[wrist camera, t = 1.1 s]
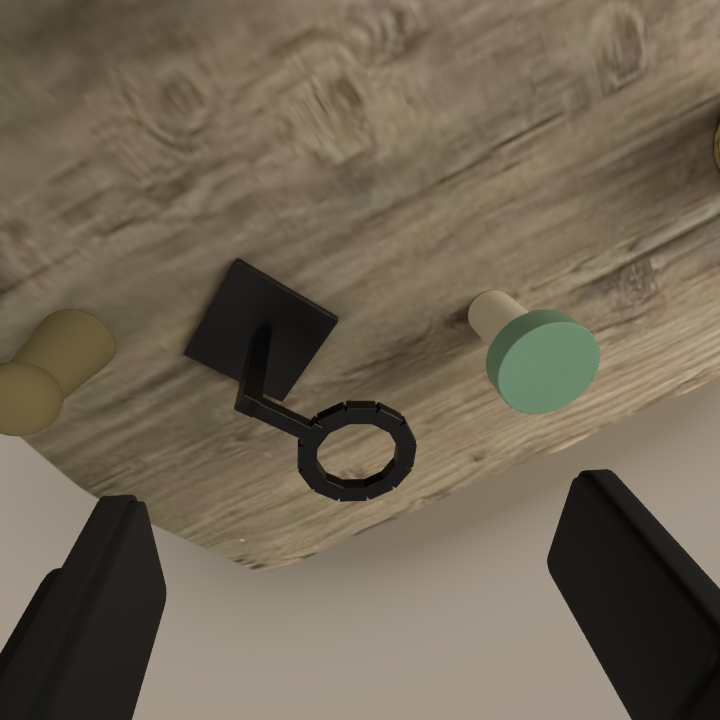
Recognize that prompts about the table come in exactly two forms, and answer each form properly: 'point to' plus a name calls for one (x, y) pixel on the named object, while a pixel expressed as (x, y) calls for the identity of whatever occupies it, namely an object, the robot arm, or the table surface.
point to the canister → (533, 353)
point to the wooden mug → (717, 147)
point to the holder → (290, 375)
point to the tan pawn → (51, 370)
